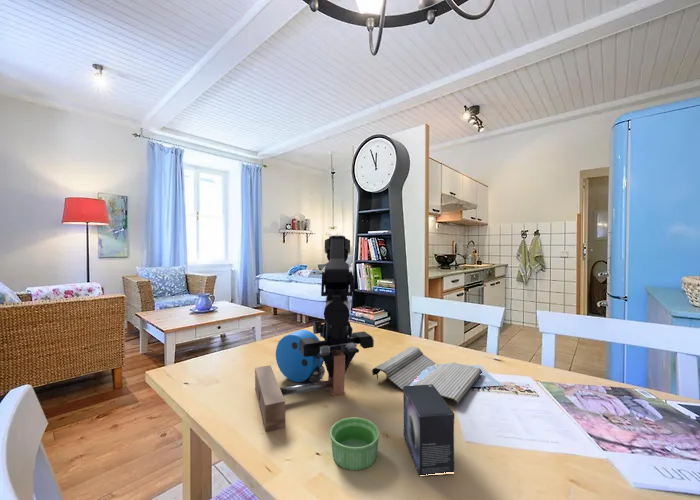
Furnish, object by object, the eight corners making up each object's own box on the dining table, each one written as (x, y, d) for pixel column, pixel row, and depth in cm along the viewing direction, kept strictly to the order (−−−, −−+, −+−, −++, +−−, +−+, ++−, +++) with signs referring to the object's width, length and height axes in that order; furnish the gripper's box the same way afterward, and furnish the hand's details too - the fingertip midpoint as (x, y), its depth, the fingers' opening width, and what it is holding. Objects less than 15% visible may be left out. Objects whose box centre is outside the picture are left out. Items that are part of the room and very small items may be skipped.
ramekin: (383, 472, 51) (383, 446, 51) (330, 475, 50) (330, 449, 50) (375, 438, 60) (375, 416, 60) (329, 440, 59) (329, 418, 59)
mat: (458, 412, 70) (458, 392, 69) (371, 383, 84) (371, 367, 83) (483, 376, 88) (483, 360, 88) (408, 358, 102) (408, 344, 102)
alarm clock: (286, 366, 92) (328, 382, 85) (272, 374, 86) (315, 391, 79) (289, 324, 91) (332, 336, 84) (275, 329, 86) (319, 343, 79)
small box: (401, 436, 60) (401, 384, 60) (433, 435, 61) (433, 383, 60) (417, 478, 49) (417, 414, 49) (456, 475, 50) (456, 412, 50)
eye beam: (270, 385, 81) (270, 365, 81) (285, 427, 63) (285, 401, 63) (255, 388, 80) (255, 367, 80) (265, 432, 61) (265, 405, 61)
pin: (338, 386, 81) (339, 349, 80) (344, 393, 77) (345, 354, 77) (275, 397, 74) (276, 357, 74) (278, 405, 70) (279, 363, 70)
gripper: (357, 307, 89) (357, 359, 89) (294, 312, 81) (294, 369, 82) (374, 315, 78) (374, 375, 79) (304, 322, 71) (304, 388, 72)
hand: (336, 376), depth 78 cm, fingers closed on pin, 3 cm apart
